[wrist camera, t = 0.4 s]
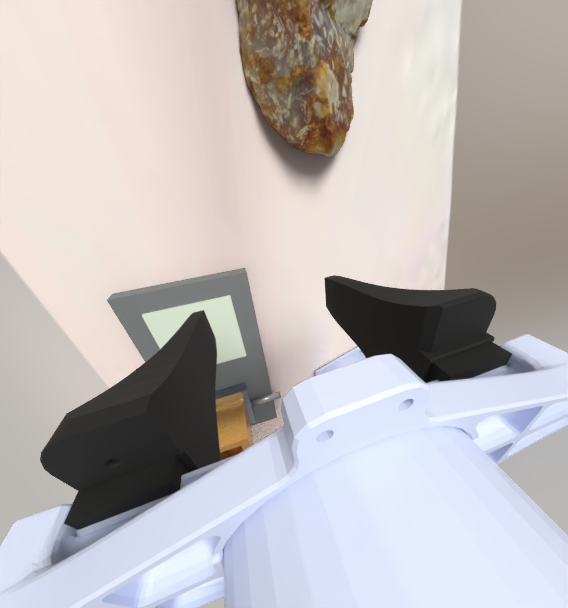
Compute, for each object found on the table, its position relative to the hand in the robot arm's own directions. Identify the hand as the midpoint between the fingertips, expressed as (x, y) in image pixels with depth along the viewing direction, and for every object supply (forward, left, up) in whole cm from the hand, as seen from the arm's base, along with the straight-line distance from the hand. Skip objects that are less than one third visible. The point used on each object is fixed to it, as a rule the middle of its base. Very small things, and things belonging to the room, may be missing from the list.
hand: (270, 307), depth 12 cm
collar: (-16, +13, -8) cm, 21 cm away
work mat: (-10, +11, -10) cm, 18 cm away
